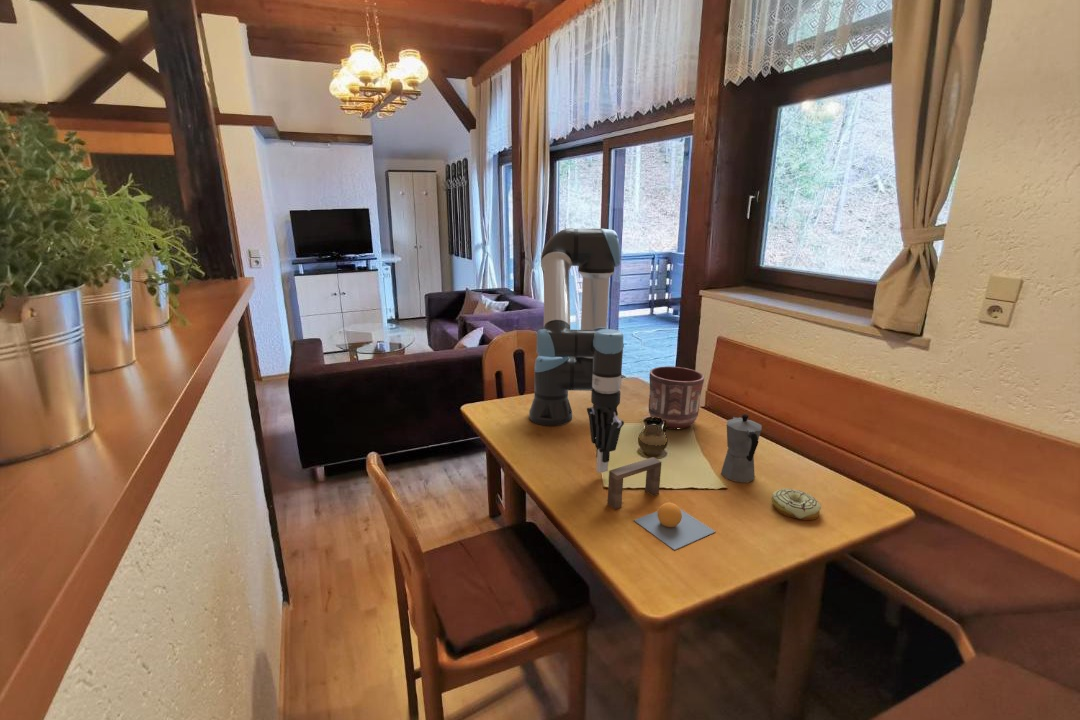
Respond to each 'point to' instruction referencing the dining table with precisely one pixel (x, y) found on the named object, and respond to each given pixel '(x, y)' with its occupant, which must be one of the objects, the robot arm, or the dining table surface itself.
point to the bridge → (619, 473)
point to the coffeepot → (741, 449)
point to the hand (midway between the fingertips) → (602, 470)
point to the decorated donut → (796, 504)
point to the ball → (669, 514)
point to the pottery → (675, 395)
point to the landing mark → (675, 530)
